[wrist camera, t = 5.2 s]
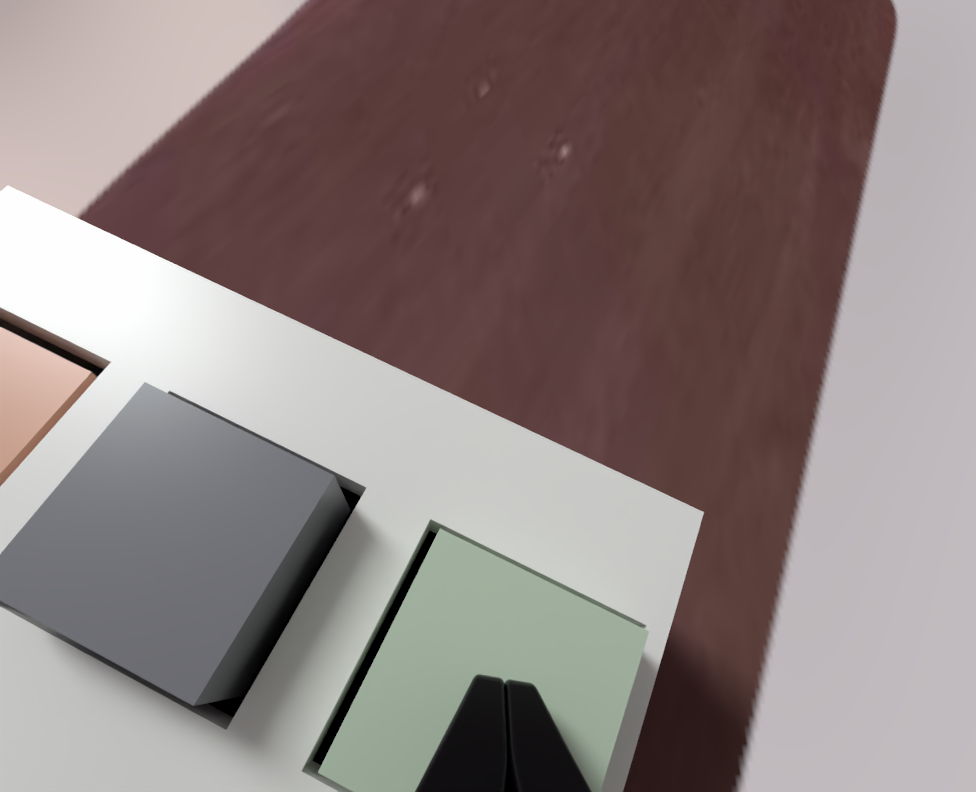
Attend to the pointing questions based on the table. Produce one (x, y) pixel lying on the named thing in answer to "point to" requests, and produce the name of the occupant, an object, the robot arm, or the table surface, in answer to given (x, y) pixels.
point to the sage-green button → (484, 667)
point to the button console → (355, 554)
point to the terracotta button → (32, 396)
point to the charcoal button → (175, 547)
